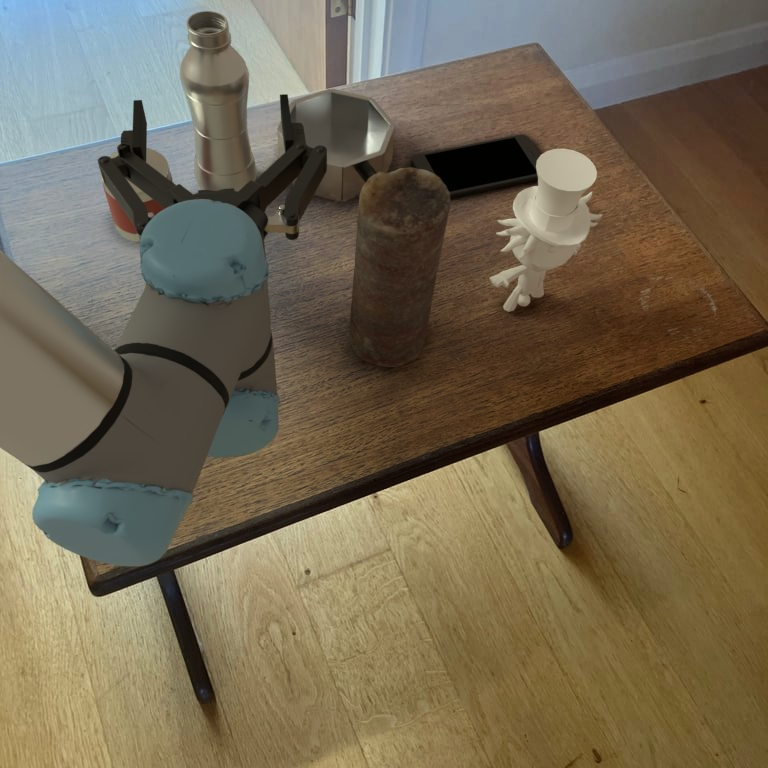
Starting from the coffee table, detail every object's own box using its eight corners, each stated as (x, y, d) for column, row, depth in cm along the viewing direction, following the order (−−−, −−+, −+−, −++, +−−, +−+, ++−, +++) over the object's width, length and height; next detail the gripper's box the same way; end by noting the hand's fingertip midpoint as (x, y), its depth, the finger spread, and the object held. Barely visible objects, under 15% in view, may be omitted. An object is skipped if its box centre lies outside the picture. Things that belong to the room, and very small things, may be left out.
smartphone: (407, 159, 94) (408, 153, 93) (525, 136, 98) (527, 130, 97) (430, 204, 90) (431, 198, 90) (552, 179, 94) (554, 173, 93)
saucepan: (265, 145, 94) (262, 109, 90) (356, 115, 98) (358, 79, 94) (340, 250, 86) (340, 216, 82) (436, 213, 90) (441, 178, 86)
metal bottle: (217, 160, 92) (194, -7, 75) (270, 182, 91) (258, 16, 74) (185, 196, 89) (154, 29, 72) (239, 218, 88) (220, 53, 71)
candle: (425, 377, 78) (453, 229, 61) (348, 375, 77) (355, 225, 61) (422, 314, 82) (448, 159, 65) (349, 311, 82) (356, 155, 65)
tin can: (103, 235, 85) (87, 184, 79) (131, 191, 89) (117, 140, 83) (164, 250, 85) (152, 200, 79) (189, 205, 88) (180, 155, 82)
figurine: (503, 351, 80) (546, 220, 65) (459, 298, 83) (489, 161, 68) (585, 310, 84) (643, 176, 69) (539, 260, 87) (584, 123, 72)
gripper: (75, 317, 69) (87, 146, 80) (369, 296, 72) (341, 134, 83) (50, 257, 63) (67, 80, 74) (373, 236, 66) (343, 70, 77)
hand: (213, 108), depth 79 cm, fingers open, 13 cm apart
